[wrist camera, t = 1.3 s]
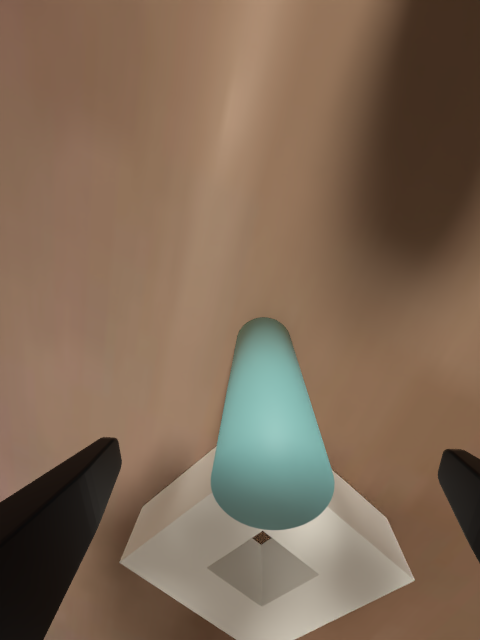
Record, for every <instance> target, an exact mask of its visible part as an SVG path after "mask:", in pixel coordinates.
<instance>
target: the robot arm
mask: <svg viewBox="0 0 480 640" xmlns="http://www.w3.org/2000/svg"><path fill="white" fill-rule="evenodd" d="M121 464H122V459H121V454H120V448H119V443H118V440H117V439H116V438H111V437H103V438H100V439H98V440H97V441H95V442H94V443H92V444H91V445H89V446H88V447H86V448H84V449H83V450H81V451H80V452H78V453H77V454H75V455H74V456H72V457H70V458H69V459H67V460H66V461H64V462H63V463H61V464H59V465H58V466H56V467H55V468H53V469H52V470H50V471H49V472H47V473H45V474H44V475H42V476H41V477H39V478H38V479H36V480H35V481H33V482H31V483H30V484H28V485H27V486H25V487H24V488H22V489H20V490H19V491H17V492H16V493H14V494H13V495H11V496H10V497H8V498H6V499H5V500H3V501H2V502H0V640H43V639H44V637H45V635H46V633H47V631H48V629H49V627H50V625H51V623H52V621H53V619H54V617H55V615H56V613H57V611H58V609H59V607H60V604H61V602H62V600H63V598H64V596H65V594H66V592H67V590H68V588H69V586H70V584H71V582H72V580H73V578H74V576H75V574H76V572H77V570H78V568H79V566H80V564H81V561H82V559H83V557H84V555H85V553H86V551H87V549H88V547H89V545H90V543H91V541H92V539H93V537H94V535H95V533H96V530H97V528H98V526H99V523H100V521H101V519H102V516H103V513H104V511H105V508H106V506H107V503H108V500H109V498H110V495H111V493H112V490H113V487H114V485H115V482H116V479H117V477H118V474H119V472H120V469H121ZM438 479H439V482H440V485H441V487H442V489H443V491H444V493H445V495H446V497H447V499H448V501H449V503H450V505H451V508H452V510H453V512H454V514H455V516H456V518H457V520H458V522H459V524H460V526H461V528H462V530H463V532H464V535H465V537H466V539H467V541H468V542H469V544H470V546H471V548H472V550H473V552H474V554H475V555H476V557H477V559H478V561H479V563H480V459H478V458H477V457H475V456H473V455H472V454H470V453H468V452H466V451H464V450H461V449H446V450H445V451H444V452H443V455H442V458H441V462H440V466H439V470H438Z"/></svg>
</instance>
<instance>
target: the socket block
mask: <svg viewBox="0 0 480 640" xmlns="http://www.w3.org/2000/svg"><path fill="white" fill-rule="evenodd" d="M216 447H217V446H216ZM216 447H215V448H214V449H212V450H211V451H210V452H209V453H207V454H206V455H205V456H204V457H203V458H201V459H200V460H199V461H198V462H196V463H195V464H194V465H193V466H192V467H190V468H189V469H188V470H187V471H185V472H184V473H183V474H182V475H181V476H179V477H178V478H177V479H176V480H174V481H173V482H172V483H171V484H170V485H168V486H167V487H166V488H165V489H163V490H162V491H161V492H160V493H159V494H157V495H156V496H155V497H154V498H152V499H151V500H150V501H149V502H148V503H146V504H145V505H144V506H143V507H142V509H141V512H140V514H139V516H138V519H137V521H136V524H135V526H134V528H133V531H132V533H131V536H130V538H129V540H128V543H127V545H126V548H125V550H124V552H123V555H122V557H121V560H120V562H119V563H121V564H122V565H124V566H125V567H127V568H128V569H130V570H131V571H133V572H134V573H136V574H137V575H139V576H140V577H142V578H143V579H145V580H146V581H148V582H150V583H151V584H153V585H154V586H156V587H157V588H159V589H160V590H162V591H163V592H165V593H166V594H168V595H169V596H171V597H172V598H174V599H175V600H177V601H178V602H180V603H181V604H183V605H184V606H186V607H187V608H189V609H190V610H192V611H193V612H195V613H197V614H198V615H200V616H201V617H203V618H204V619H206V620H207V621H209V622H210V623H212V624H213V625H215V626H216V627H218V628H219V629H221V630H222V631H224V632H225V633H227V634H228V635H230V636H231V637H233V638H234V639H236V640H294V639H297V638H299V637H301V636H303V635H305V634H307V633H309V632H311V631H313V630H315V629H317V628H319V627H321V626H323V625H325V624H327V623H329V622H331V621H333V620H335V619H337V618H339V617H341V616H343V615H346V614H348V613H350V612H352V611H354V610H356V609H358V608H360V607H362V606H364V605H366V604H368V603H370V602H372V601H374V600H376V599H378V598H380V597H382V596H384V595H386V594H388V593H390V592H392V591H394V590H397V589H399V588H401V587H403V586H405V585H407V584H409V583H411V582H413V581H415V580H414V577H413V575H412V573H411V571H410V569H409V566H408V564H407V562H406V560H405V557H404V555H403V553H402V551H401V549H400V546H399V544H398V542H397V540H396V538H395V535H394V533H393V531H392V529H391V526H390V524H389V522H388V520H387V518H386V517H385V516H384V515H383V514H382V513H380V512H379V511H378V510H377V509H376V508H375V507H374V506H372V505H371V504H370V503H369V502H368V501H367V500H366V499H365V498H363V497H362V496H361V495H360V494H359V493H358V492H357V491H356V490H354V489H353V488H352V487H351V486H350V485H349V484H348V483H346V482H345V481H344V480H343V479H342V478H341V477H340V476H339V475H337V474H336V473H335V472H334V471H333V470H332V472H333V476H334V482H335V484H334V493H333V496H332V499H331V501H330V503H329V505H328V506H327V507H326V509H325V510H324V511H323V512H322V513H321V514H320V515H319V516H318V517H316V518H315V519H313V520H312V521H310V522H308V523H306V524H304V525H301V526H298V527H295V528H291V529H286V530H264V529H258V528H254V527H250V526H247V525H245V524H242V523H240V522H238V521H237V520H235V519H233V518H232V517H230V516H229V515H228V514H227V513H226V512H224V511H223V509H222V508H221V507H220V506H219V505H218V503H217V502H216V500H215V498H214V496H213V493H212V490H211V473H212V468H213V463H214V458H215V452H216ZM262 531H264V532H265V533H266V534H268V535H269V536H270V537H271V539H269V540H268V541H266V542H264V543H263V544H259V543H258V542H257V541H255V540H254V539H253V537H254V536H256V535H257V534H259V533H260V532H262Z"/></svg>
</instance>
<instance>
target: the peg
mask: <svg viewBox="0 0 480 640" xmlns="http://www.w3.org/2000/svg"><path fill="white" fill-rule="evenodd" d="M334 484H335V482H334V476H333V472H332V469H331V466H330V463H329V460H328V456H327V453H326V450H325V447H324V444H323V440H322V437H321V434H320V431H319V428H318V424H317V421H316V418H315V415H314V412H313V409H312V405H311V402H310V399H309V396H308V393H307V389H306V386H305V383H304V380H303V377H302V373H301V370H300V367H299V364H298V361H297V357H296V354H295V351H294V348H293V345H292V341H291V338H290V335H289V333H288V331H287V329H286V328H285V327H284V325H282V324H281V323H280V322H278V321H277V320H275V319H271V318H265V317H262V318H256V319H253V320H251V321H249V322H247V323H246V324H245V325H244V326H243V327H242V328H241V330H240V331H239V333H238V336H237V341H236V346H235V351H234V357H233V362H232V367H231V373H230V378H229V383H228V389H227V394H226V399H225V405H224V410H223V415H222V420H221V426H220V431H219V436H218V442H217V447H216V452H215V458H214V463H213V468H212V473H211V490H212V493H213V496H214V498H215V500H216V502H217V503H218V505H219V506H220V507H221V508H222V509H223V511H224V512H226V513H227V514H228V515H229V516H230V517H232V518H233V519H235V520H237V521H238V522H240V523H242V524H245V525H247V526H250V527H254V528H258V529H264V530H286V529H291V528H295V527H298V526H301V525H304V524H306V523H308V522H310V521H312V520H313V519H315V518H316V517H318V516H319V515H320V514H321V513H322V512H323V511H324V510H325V509H326V507H327V506H328V505H329V503H330V501H331V499H332V496H333V493H334Z"/></svg>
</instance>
